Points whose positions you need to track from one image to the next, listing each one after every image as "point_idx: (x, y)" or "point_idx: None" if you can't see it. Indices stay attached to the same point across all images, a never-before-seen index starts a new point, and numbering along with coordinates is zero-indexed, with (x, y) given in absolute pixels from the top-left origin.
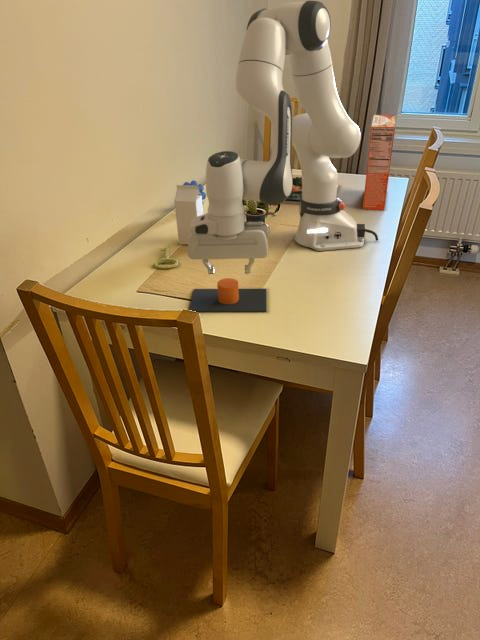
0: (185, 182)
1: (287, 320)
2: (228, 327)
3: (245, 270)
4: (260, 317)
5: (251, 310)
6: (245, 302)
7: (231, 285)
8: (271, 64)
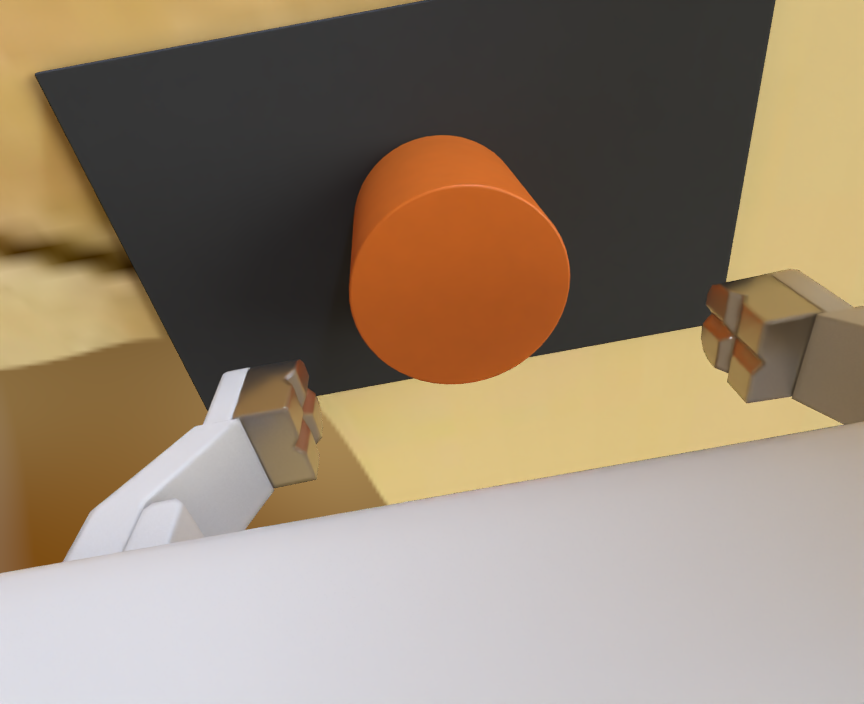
0: None
1: None
2: (494, 483)
3: (734, 375)
4: (668, 375)
5: (621, 338)
6: (578, 246)
7: (507, 339)
8: None
